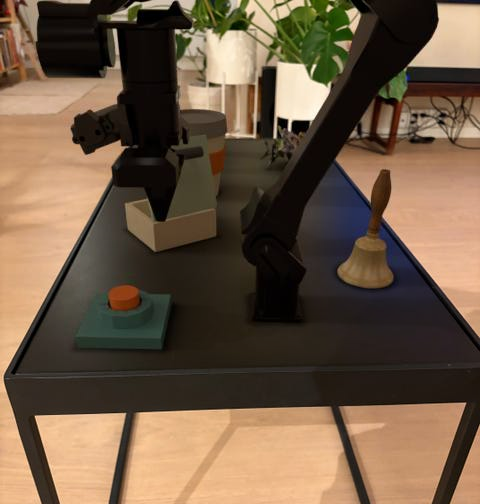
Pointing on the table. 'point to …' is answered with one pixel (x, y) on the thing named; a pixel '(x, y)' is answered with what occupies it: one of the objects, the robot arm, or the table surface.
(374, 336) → the table surface
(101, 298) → the control box
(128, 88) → the robot arm
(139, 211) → the shallow tan tray
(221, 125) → the reusable coffee cup
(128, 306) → the button
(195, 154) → the lid
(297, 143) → the passion flower
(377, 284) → the hand bell
